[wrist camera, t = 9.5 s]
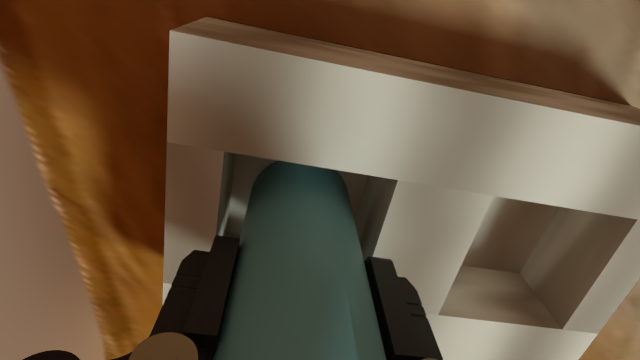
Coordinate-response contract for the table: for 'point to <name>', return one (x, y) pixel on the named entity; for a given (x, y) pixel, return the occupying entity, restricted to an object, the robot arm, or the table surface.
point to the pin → (299, 274)
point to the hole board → (418, 179)
